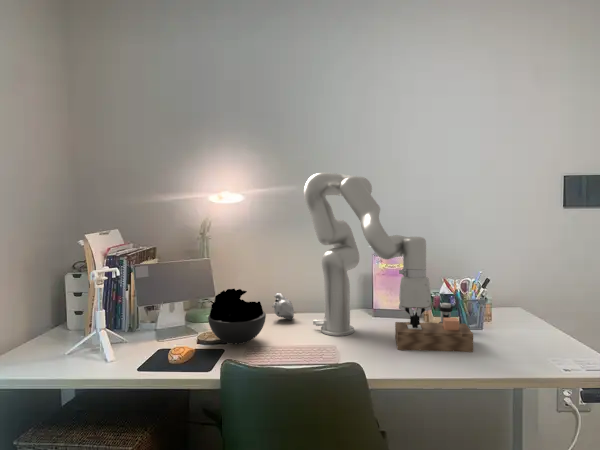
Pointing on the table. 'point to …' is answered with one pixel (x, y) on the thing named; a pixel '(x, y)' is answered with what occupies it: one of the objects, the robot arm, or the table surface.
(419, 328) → the grey plunger
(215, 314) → the coal bowl
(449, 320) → the orange block
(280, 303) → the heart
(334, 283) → the robot arm
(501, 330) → the table surface
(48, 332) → the table surface
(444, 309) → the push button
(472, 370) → the table surface
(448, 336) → the button box
